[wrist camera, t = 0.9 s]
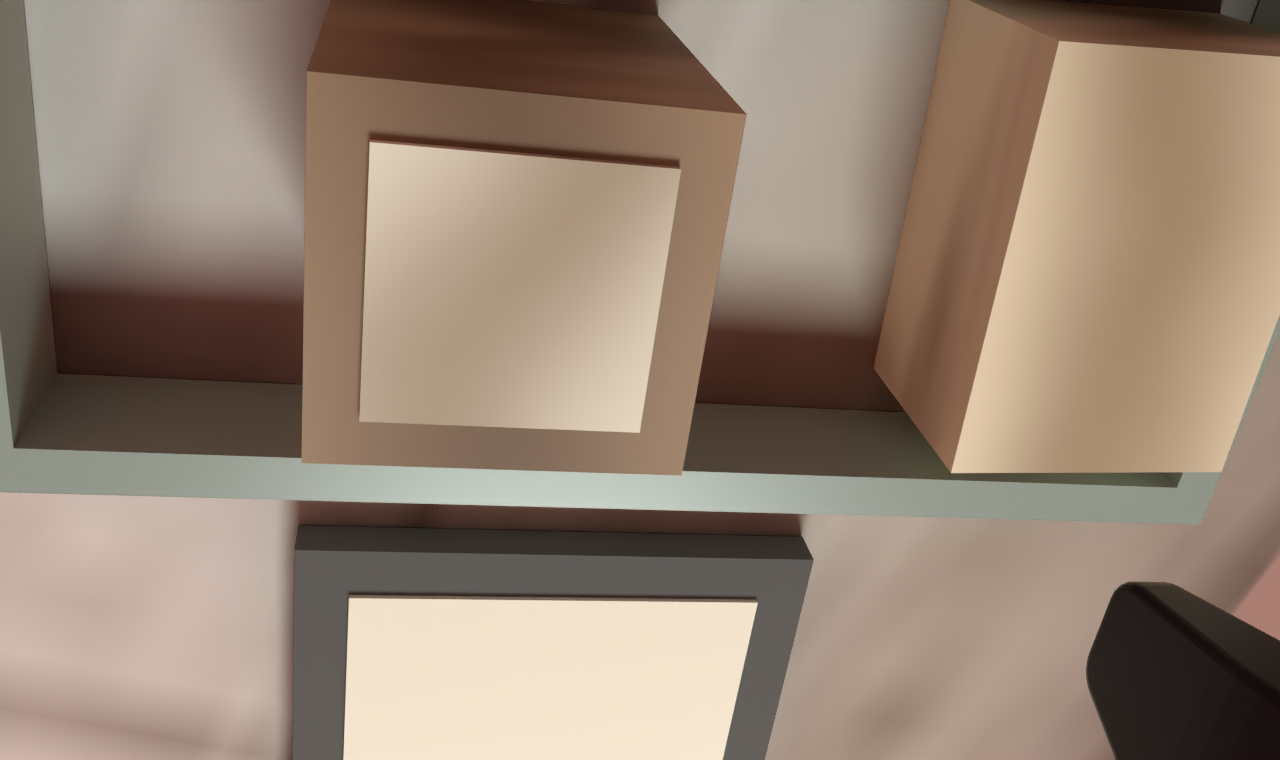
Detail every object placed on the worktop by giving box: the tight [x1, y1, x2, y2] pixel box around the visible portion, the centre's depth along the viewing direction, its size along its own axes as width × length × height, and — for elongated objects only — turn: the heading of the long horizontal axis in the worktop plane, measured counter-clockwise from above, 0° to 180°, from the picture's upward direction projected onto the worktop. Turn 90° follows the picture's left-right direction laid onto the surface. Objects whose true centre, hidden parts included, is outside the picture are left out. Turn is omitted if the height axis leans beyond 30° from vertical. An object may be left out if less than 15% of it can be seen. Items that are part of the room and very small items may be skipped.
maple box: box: [874, 0, 1280, 473], centre depth 20 cm, size 5×7×4 cm
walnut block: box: [302, 0, 746, 476], centre depth 17 cm, size 5×5×6 cm
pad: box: [293, 525, 813, 760], centre depth 25 cm, size 10×8×1 cm
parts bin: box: [0, 0, 1280, 525], centre depth 19 cm, size 22×11×2 cm, turn 82°
